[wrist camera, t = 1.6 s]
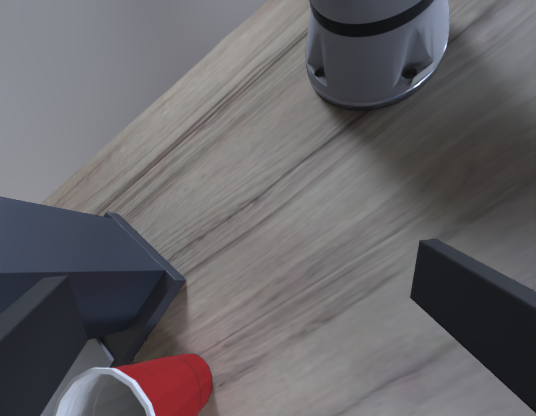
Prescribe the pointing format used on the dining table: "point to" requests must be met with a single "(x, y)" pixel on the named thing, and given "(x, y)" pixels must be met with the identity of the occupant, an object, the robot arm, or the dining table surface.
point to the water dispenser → (87, 277)
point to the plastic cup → (139, 389)
